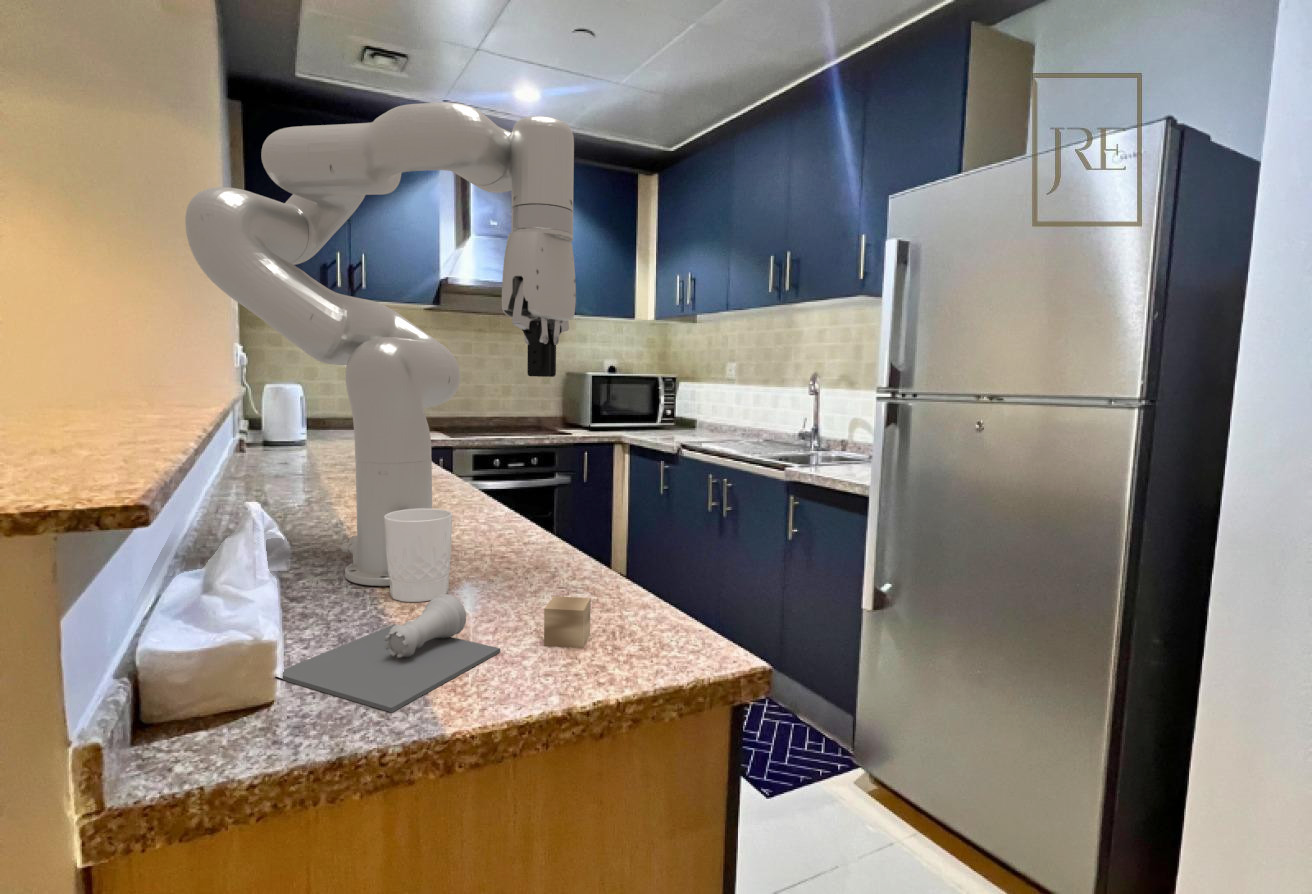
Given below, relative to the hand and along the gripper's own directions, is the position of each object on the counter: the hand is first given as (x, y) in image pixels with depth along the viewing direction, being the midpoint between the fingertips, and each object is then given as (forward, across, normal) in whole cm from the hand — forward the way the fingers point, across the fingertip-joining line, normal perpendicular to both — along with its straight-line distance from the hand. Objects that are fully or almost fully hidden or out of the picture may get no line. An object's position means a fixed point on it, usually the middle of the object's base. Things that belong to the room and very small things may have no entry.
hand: (541, 376), depth 88 cm
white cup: (+27, +10, -11) cm, 31 cm away
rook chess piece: (+24, +19, +2) cm, 31 cm away
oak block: (+27, +14, +13) cm, 33 cm away
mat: (+27, +27, +2) cm, 38 cm away
